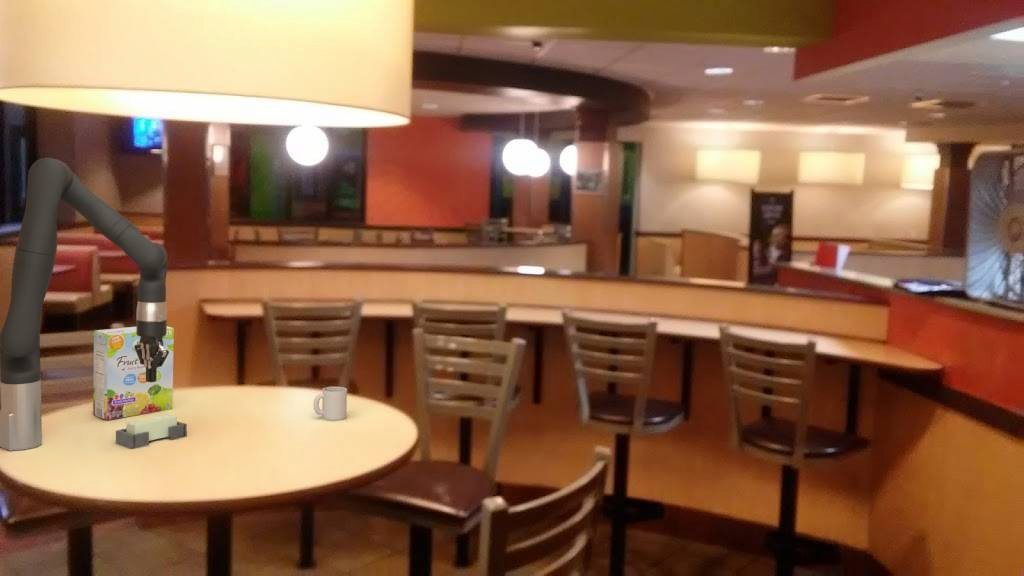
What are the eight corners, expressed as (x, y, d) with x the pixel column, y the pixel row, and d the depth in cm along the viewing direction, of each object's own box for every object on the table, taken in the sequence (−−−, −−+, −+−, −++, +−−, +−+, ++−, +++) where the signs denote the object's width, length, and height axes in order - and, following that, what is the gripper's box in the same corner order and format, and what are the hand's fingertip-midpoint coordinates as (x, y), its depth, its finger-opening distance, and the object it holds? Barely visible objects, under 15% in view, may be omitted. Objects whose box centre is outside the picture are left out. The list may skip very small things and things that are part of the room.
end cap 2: (170, 431, 256) (170, 419, 256) (186, 436, 252) (186, 424, 251) (154, 434, 252) (154, 422, 252) (170, 440, 248) (170, 427, 247)
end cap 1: (131, 449, 238) (131, 436, 238) (115, 443, 243) (115, 430, 242) (148, 445, 242) (148, 432, 242) (133, 439, 247) (133, 427, 246)
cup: (348, 420, 275) (349, 391, 274) (315, 422, 271) (316, 393, 270) (343, 414, 282) (343, 386, 281) (310, 416, 278) (311, 387, 277)
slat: (135, 443, 241) (134, 425, 240) (126, 440, 243) (126, 422, 243) (176, 434, 251) (176, 416, 251) (168, 431, 253) (168, 414, 253)
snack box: (107, 422, 263) (106, 334, 260) (91, 416, 268) (90, 330, 265) (175, 409, 280) (174, 326, 277) (159, 404, 286) (158, 323, 283)
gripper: (124, 316, 244) (124, 379, 246) (153, 322, 237) (152, 387, 238) (150, 313, 250) (149, 376, 252) (178, 319, 243) (178, 383, 244)
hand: (151, 381), depth 245 cm, fingers closed
